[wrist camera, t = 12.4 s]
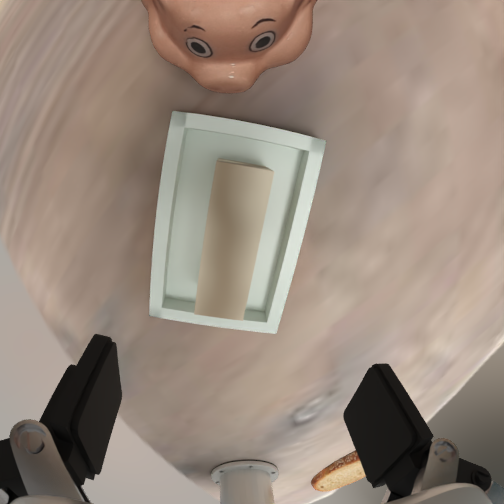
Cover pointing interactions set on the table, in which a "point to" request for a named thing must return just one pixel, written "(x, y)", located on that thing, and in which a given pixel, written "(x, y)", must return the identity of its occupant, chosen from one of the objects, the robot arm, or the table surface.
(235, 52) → the decorative planter
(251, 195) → the birch block
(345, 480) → the tan flat crusted slab
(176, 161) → the tray
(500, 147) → the table surface
